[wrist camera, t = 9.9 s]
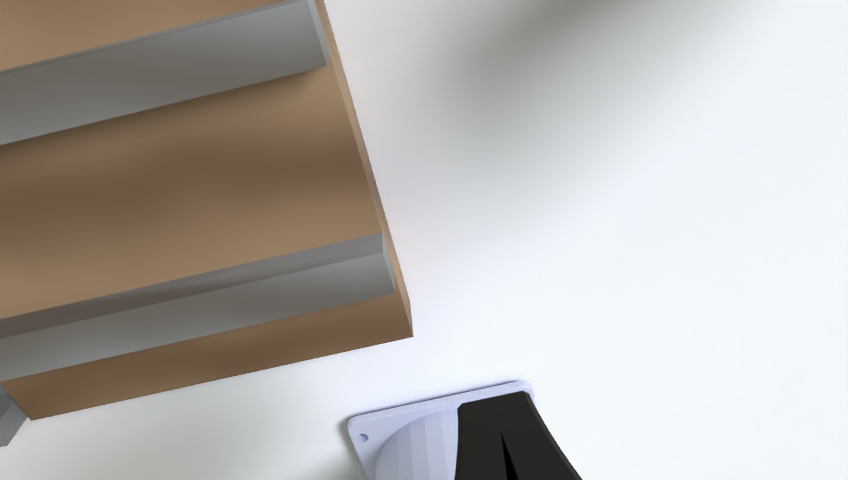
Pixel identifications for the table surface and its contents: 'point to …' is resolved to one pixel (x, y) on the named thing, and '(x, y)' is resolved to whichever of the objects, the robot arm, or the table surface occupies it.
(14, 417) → the tray
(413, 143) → the table surface
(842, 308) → the table surface
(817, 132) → the table surface
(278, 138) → the slot bed
